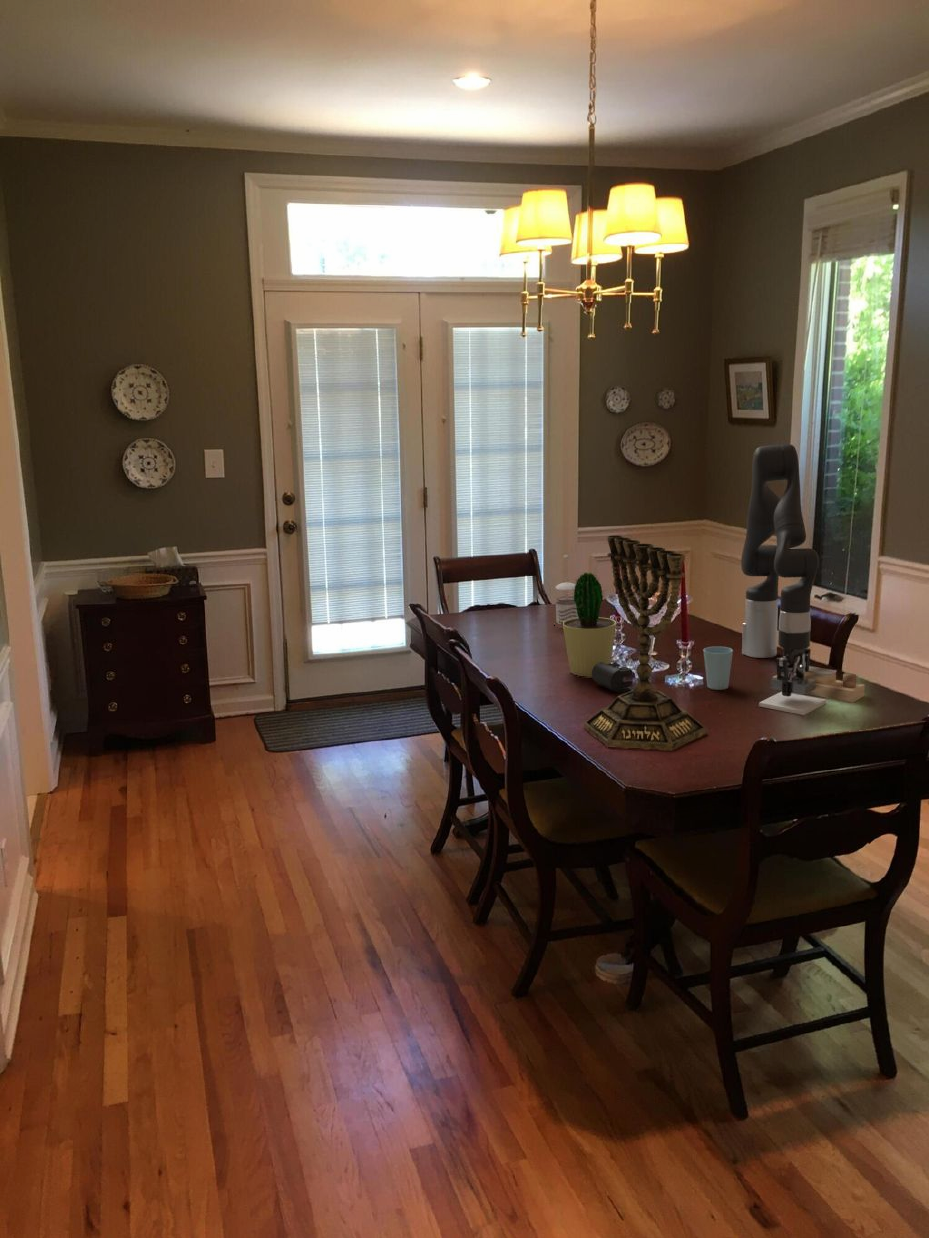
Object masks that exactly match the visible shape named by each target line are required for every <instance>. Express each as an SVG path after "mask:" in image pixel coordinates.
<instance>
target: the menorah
mask: <svg viewBox="0 0 929 1238" xmlns="http://www.w3.org/2000/svg"><path fill="white" fill-rule="evenodd" d="M606 539H607V540H606V541H607V543H608V546H609V550H610V552H608V553H607V555H606V556H607V557H610V563H611V564H612V566H611V568H612V573H613V575H612V576H613V578H614V579H613V583H612V584H613V586H614V588H615V590H616V591H615V592H616V594H617V598H618V603H619V606H620V607H621V608H622V611H623V613H624V614H625V617H626V619H627V621H628V622H629V623H630V624H631V625H632V627H633V628H634V629H635V630H637V631H639V632H640V633H638V636H637V640H638V642H639V644H638V648H637V650H638V653H639V654H638V657H637V658H638V662H639V664H638V665H637V666H636V669H635V672H636V675H637V676H638V678H639V680H638V682H637V683H635V686H634V687H633V689H631V691H630V692H624V693H621V694H620V695H618V696H616V697H615V698H614V700H613V701H612V702H611V704H610V705H608V706H606V707H603V708H601V709H600V710H599V711H597V712H596V713H595V714H594V715H592V716H590V717H589V718H588V719H587V720H585V722H583V728H584V727H585V728H586V729H587V730H588V731H589V732H591V733H592V734H593V735H595V736H596V737H597V738H598V739H599V740H600V741H603V742H604V743H605V744H606V745H607V746H615V747H627V748H626V749H628V748H645V749H644V750H649V749H658V750H657V751H674V750H676V749H678V748H681V747H683V746H684V745H686V743H687V744H689V743H691V742H693V741H694V740H697V739H699V738H701V737H703V736H705V735H707V732H708V731H707V727H706V726H705V725H703V724H702V723H701V722H700V721H699V720H697V718H695V717H694V716H693V715H692V714H690V713H689V712H688V711H686V710H685V709H683V708H681V707H680V706H678V705H677V703H676V702H675V701H674V700H673V699H672V697H670V696H668V695H667V694H665V693H664V692H661V691H660V690H655V687H654V685H653V684H652V683H651V681H650V680H649V679H650V678H651V675H652V674H653V672H652V671H653V669H652V666H651V665H650V664H649V662H650V659H651V658H650V655H649V652H650V649H651V647H650V645H649V643H650V638H651V637H650V636H655V635H659V634H661V633H662V632H663V631H665V629H666V628H667V627H669V626H670V625H671V623H672V619H673V618H674V615H675V612H676V611H677V609H678V608H679V603H678V601H679V596H680V590H681V588H680V586H681V584H682V579H683V578H686V574H685V573H684V572H682V570H683V567H684V563H685V559H686V554H685V553H676V551H675V550H666V547H661V546H660V547H657V546H655V545H654V543H641V541H640V540H639V539H632V538H630V537H624V536H623V535H619V534H618V535H617V534H616V535H614V534H613V535H608V536H607V537H606ZM637 567H638V572H639V573H640V575H639V576H640V578H639V576H638V575H637V571H636V568H637ZM648 571H650V574H651V577H652V578H651V582H650V583H648V578H647V577H648ZM660 579H661V587H660V586H659V584H660ZM670 584H671V589H670V588H669V587H670ZM632 588H633V589H632ZM669 589H670V591H671V592H670V597H669V600H668V594H669V592H668V591H669ZM633 590H634V592H633ZM659 590H660V592H659V594H658V595H657V596H656V602H655V603H654V604H653V606H651V607H650V608H649V606H650V599H651V598H653V597H654V595H655V594H656V593H657V592H658V591H659ZM635 593H636V595H638V596H639V598H637V597H636V596H635ZM629 604H630V605H631V606H632V608H634V609H635V610H636V612H637V613H639V616H638V617H636V614H635V613H634V612H633V611H632V609H631V607H630V605H629ZM665 604H666V608H667V609H666V610H665V612H664V615H662V616H661V618H660V621H659V623H657V624H655V625H653V626H649V625H650V623H651V619H650V616H654V615H657V614H659V613H660V611H661V610H662V609H663V607H664V605H665ZM587 730H586V731H587ZM588 731H587V732H588ZM589 732H588V733H589ZM592 734H591V735H592ZM593 735H592V736H593ZM598 739H597V740H598ZM599 740H598V741H599ZM600 741H599V742H600ZM690 741H691V742H690ZM688 742H689V743H688Z"/></svg>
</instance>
